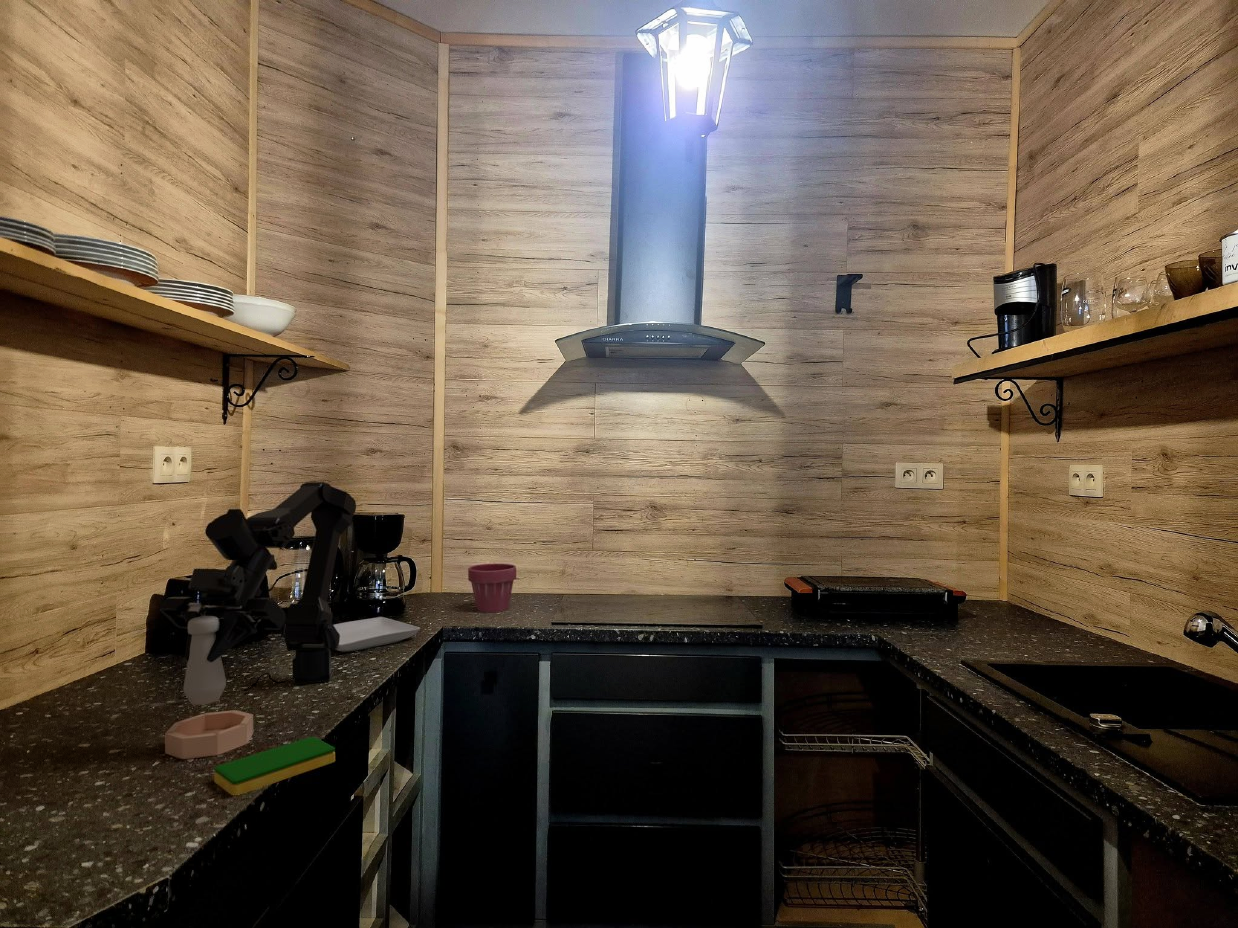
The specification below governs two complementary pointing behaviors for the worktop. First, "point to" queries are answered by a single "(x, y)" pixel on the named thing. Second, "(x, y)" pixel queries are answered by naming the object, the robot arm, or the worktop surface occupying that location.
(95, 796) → the worktop surface
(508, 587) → the plant pot
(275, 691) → the worktop surface
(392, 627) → the salad plate
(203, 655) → the salt shaker
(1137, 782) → the worktop surface
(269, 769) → the dish sponge
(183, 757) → the pink octagonal dish
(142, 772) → the worktop surface
